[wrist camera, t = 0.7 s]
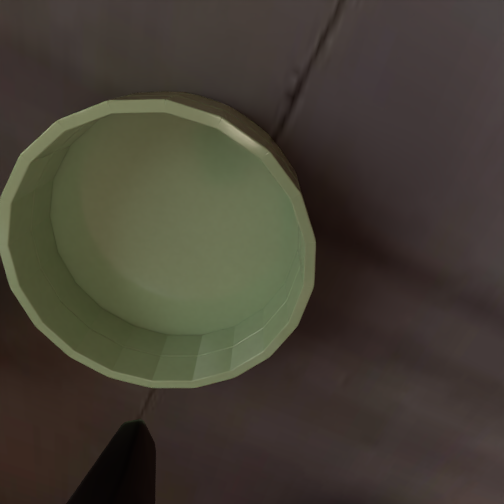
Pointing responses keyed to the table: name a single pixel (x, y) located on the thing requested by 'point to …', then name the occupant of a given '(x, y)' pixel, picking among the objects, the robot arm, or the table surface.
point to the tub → (159, 240)
